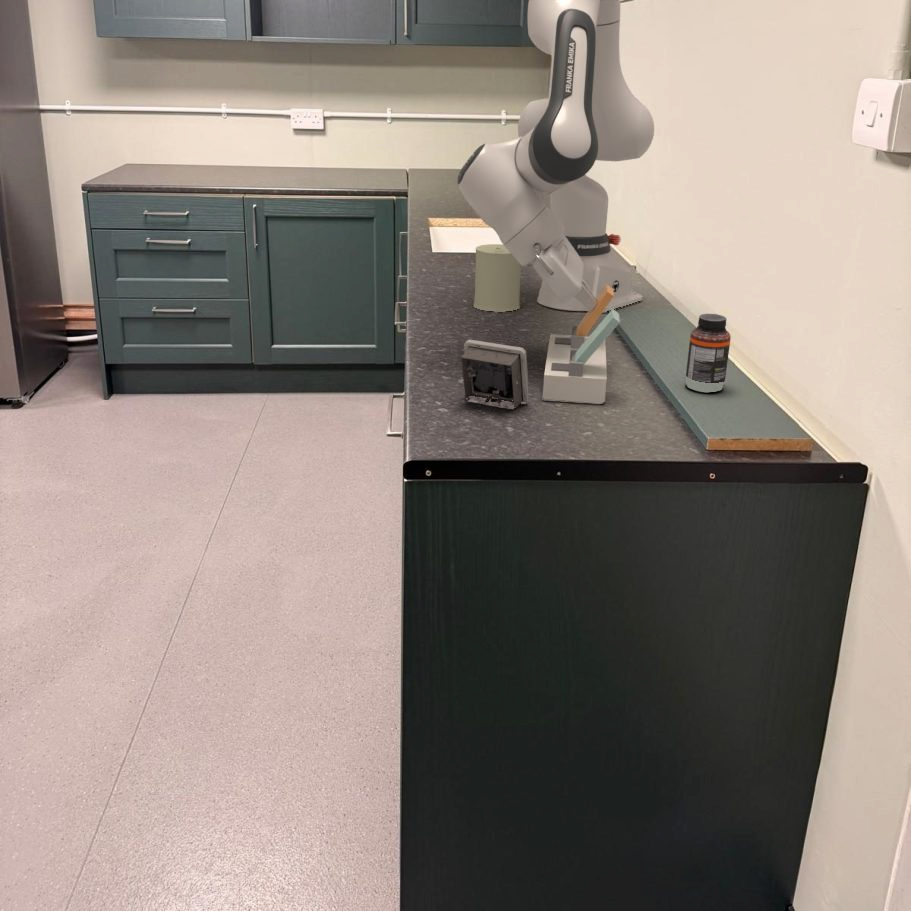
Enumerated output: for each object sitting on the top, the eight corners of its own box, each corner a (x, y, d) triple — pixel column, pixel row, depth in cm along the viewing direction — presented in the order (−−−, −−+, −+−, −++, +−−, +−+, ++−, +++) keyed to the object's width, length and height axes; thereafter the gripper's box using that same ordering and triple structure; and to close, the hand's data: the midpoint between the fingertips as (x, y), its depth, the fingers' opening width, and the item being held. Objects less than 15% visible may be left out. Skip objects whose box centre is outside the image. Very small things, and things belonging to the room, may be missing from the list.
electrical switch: (529, 404, 141) (530, 344, 136) (516, 418, 137) (517, 357, 132) (471, 393, 144) (470, 335, 140) (456, 407, 140) (455, 347, 136)
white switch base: (542, 401, 142) (544, 361, 139) (550, 347, 167) (552, 313, 165) (604, 405, 141) (608, 365, 138) (602, 350, 166) (605, 316, 164)
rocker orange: (571, 342, 154) (606, 291, 150) (572, 333, 158) (606, 284, 155) (578, 346, 154) (614, 296, 150) (579, 337, 158) (613, 289, 155)
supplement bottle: (695, 379, 153) (704, 309, 149) (730, 388, 150) (740, 316, 145) (677, 388, 149) (685, 316, 144) (713, 397, 145) (723, 324, 141)
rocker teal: (569, 368, 141) (612, 317, 137) (570, 357, 146) (612, 308, 142) (576, 374, 141) (620, 323, 137) (577, 363, 146) (619, 313, 142)
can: (473, 311, 188) (475, 250, 184) (473, 300, 197) (475, 241, 192) (520, 313, 188) (523, 251, 184) (519, 301, 197) (522, 242, 192)
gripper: (549, 237, 140) (609, 308, 143) (555, 216, 159) (609, 279, 161) (516, 265, 142) (576, 335, 145) (526, 241, 161) (579, 303, 164)
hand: (593, 305), depth 153 cm, fingers closed, pressing on rocker orange
